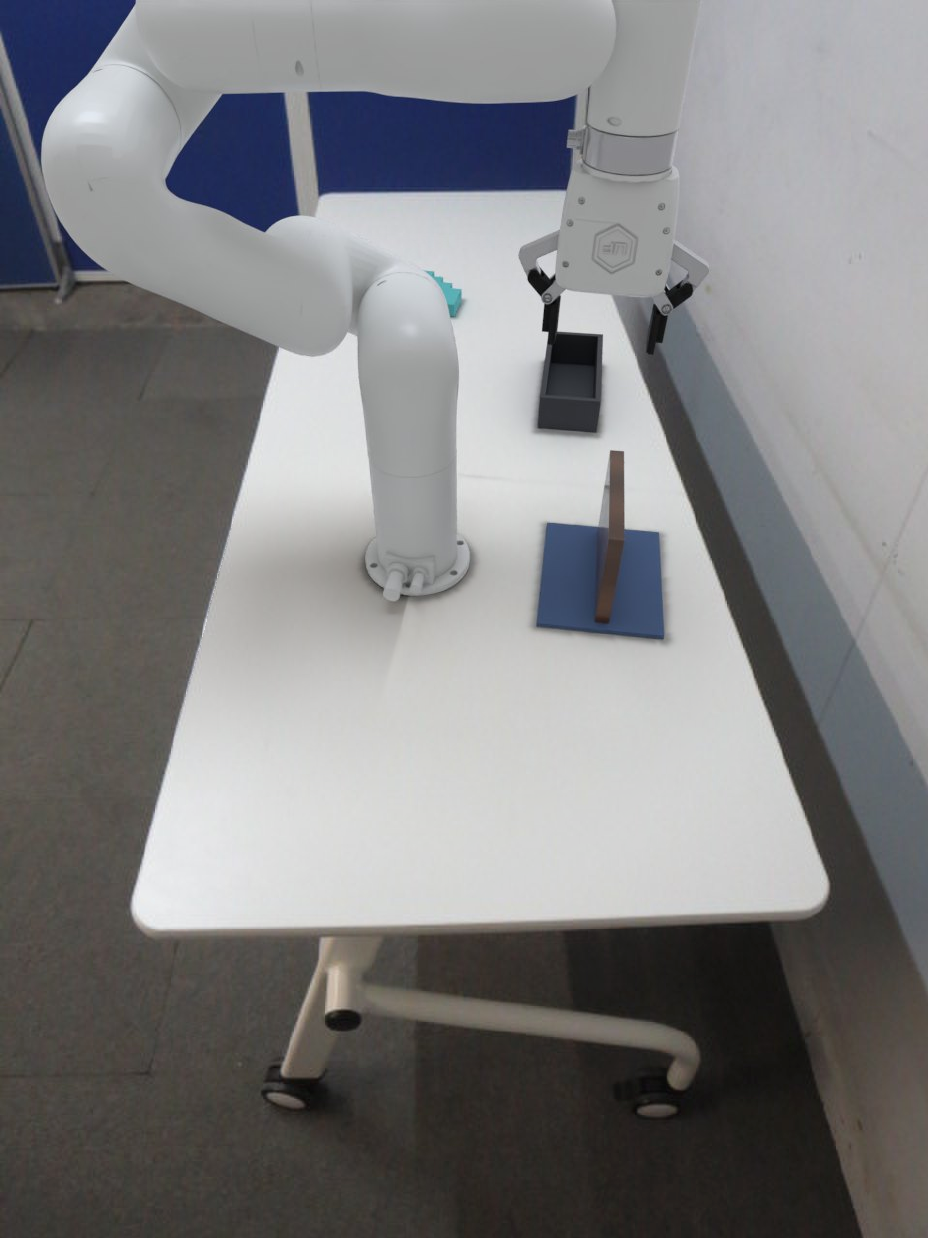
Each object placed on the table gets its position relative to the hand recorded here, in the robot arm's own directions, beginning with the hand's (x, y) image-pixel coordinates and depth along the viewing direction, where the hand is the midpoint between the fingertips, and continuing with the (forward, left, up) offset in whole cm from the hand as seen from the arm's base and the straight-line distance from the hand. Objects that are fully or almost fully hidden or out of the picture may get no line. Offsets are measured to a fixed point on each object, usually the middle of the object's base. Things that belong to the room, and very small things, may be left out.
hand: (600, 343), depth 79 cm
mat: (-4, -3, -27) cm, 28 cm away
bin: (+37, +2, -27) cm, 45 cm away
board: (-4, -4, -26) cm, 27 cm away
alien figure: (+66, +34, -27) cm, 78 cm away
